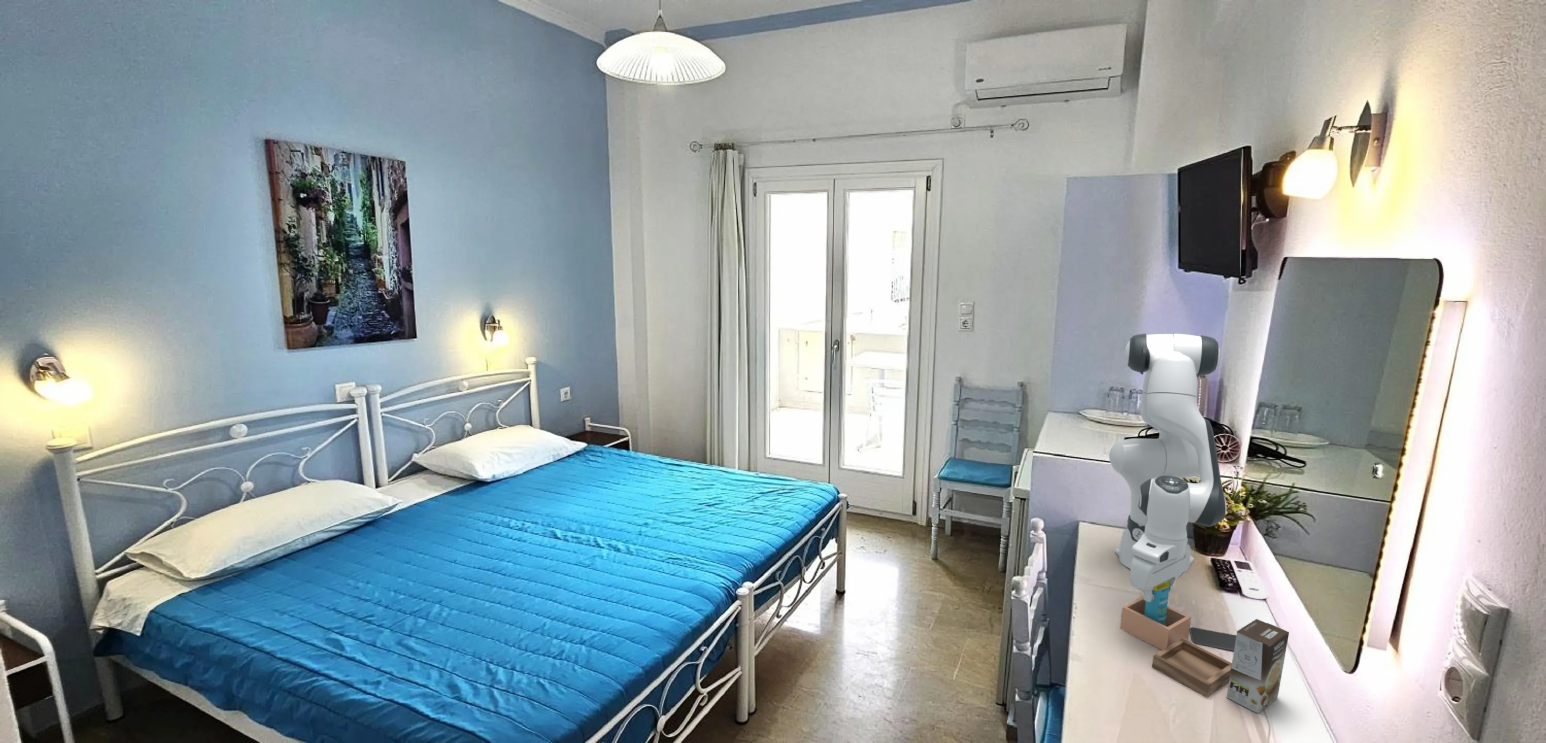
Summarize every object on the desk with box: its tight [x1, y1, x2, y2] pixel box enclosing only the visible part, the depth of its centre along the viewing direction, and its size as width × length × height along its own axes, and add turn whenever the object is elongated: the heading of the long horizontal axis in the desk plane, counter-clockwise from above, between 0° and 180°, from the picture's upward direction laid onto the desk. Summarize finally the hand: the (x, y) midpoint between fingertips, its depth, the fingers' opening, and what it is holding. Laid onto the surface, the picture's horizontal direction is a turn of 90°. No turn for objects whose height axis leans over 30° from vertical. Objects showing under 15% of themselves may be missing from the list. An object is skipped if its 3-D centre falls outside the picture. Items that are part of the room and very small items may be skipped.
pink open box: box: [1119, 596, 1192, 651], centre depth 168 cm, size 10×12×6 cm
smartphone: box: [1189, 626, 1237, 653], centre depth 164 cm, size 7×1×15 cm
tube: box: [1144, 579, 1170, 626], centre depth 166 cm, size 7×5×19 cm, turn 123°
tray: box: [1151, 638, 1232, 698], centre depth 154 cm, size 12×12×3 cm
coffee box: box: [1226, 618, 1290, 714], centre depth 144 cm, size 9×6×16 cm
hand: (1158, 594), depth 166 cm, fingers open, 7 cm apart
